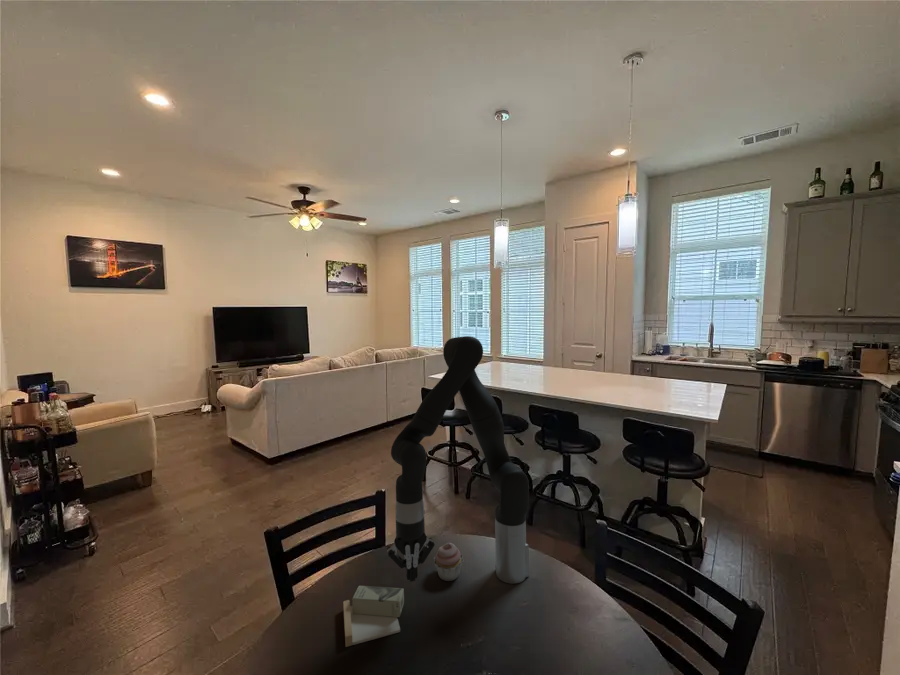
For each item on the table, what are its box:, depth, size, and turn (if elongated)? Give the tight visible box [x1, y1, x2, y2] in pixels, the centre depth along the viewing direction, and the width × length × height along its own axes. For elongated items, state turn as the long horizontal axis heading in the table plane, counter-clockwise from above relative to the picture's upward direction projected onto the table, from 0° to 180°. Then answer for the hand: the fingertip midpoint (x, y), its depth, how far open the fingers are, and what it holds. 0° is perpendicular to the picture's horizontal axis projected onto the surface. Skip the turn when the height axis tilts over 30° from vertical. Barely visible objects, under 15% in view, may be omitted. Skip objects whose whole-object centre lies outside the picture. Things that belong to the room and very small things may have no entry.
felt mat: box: [342, 599, 401, 648], centre depth 95 cm, size 13×12×2 cm
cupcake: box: [433, 542, 465, 582], centre depth 112 cm, size 9×9×10 cm
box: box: [351, 585, 405, 618], centre depth 98 cm, size 5×4×13 cm
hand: (411, 579), depth 97 cm, fingers closed
